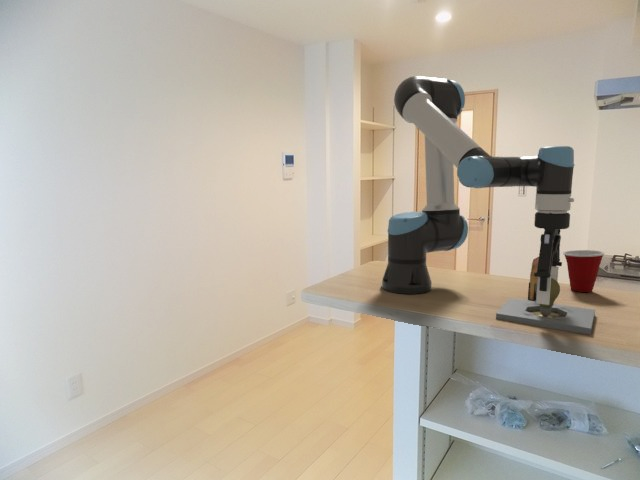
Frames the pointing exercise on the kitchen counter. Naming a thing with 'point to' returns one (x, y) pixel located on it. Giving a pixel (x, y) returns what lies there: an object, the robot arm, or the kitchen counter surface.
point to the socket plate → (558, 319)
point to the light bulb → (554, 293)
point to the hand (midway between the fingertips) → (546, 297)
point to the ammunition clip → (533, 280)
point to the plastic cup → (583, 268)
